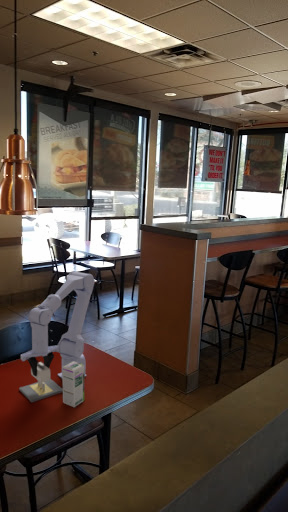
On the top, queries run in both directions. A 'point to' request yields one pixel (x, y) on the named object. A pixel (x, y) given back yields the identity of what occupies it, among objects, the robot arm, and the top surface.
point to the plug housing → (42, 372)
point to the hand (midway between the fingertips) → (40, 373)
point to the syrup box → (73, 383)
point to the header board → (41, 390)
